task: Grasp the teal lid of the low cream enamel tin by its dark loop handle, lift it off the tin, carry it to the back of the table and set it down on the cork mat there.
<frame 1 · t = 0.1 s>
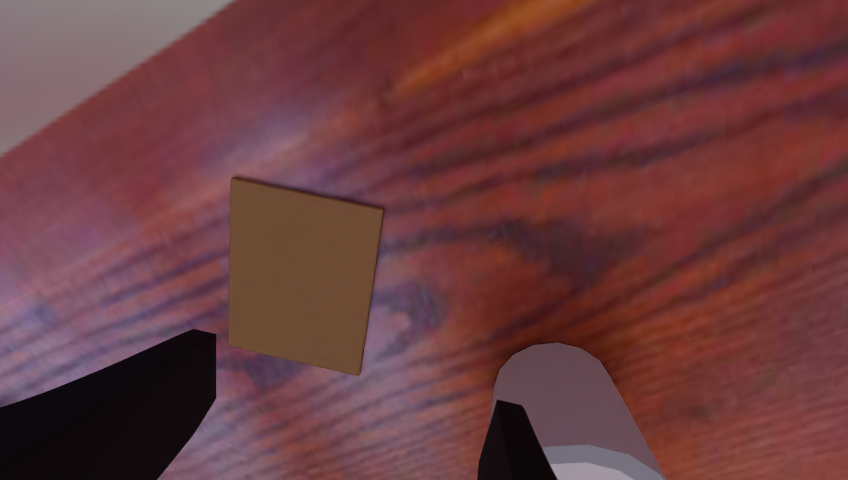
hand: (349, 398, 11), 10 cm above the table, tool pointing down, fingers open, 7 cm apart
mat: (301, 281, 22), on the table
pale grey cylinder: (551, 389, 23), on the table
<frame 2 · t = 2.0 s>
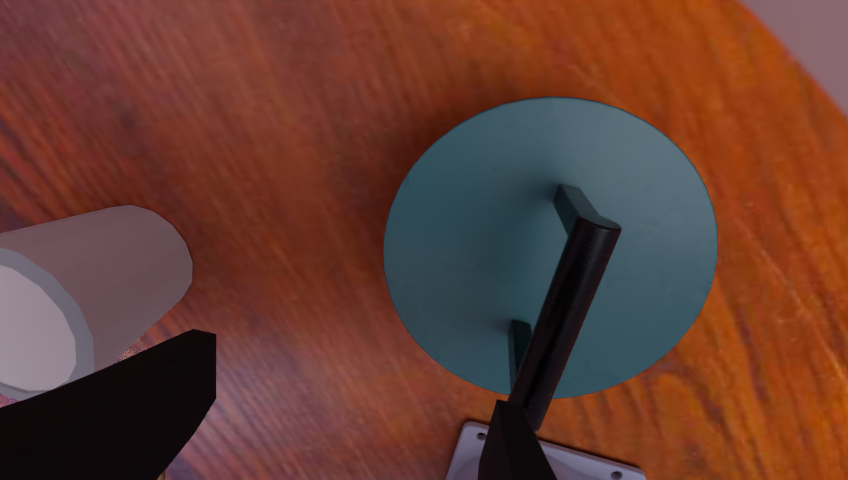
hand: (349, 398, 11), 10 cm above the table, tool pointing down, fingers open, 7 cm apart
pale grey cylinder: (143, 256, 24), on the table
tin lid: (539, 260, 16), point 4 cm above the table, touching tin
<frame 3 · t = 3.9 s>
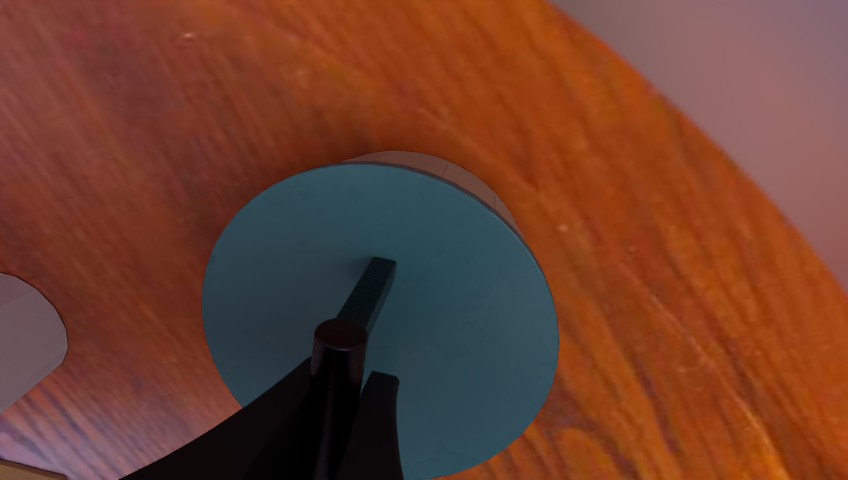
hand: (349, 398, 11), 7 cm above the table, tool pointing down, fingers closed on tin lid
tin: (402, 274, 18), on the table
pale grey cylinder: (17, 322, 22), on the table
tin lid: (375, 334, 14), point 4 cm above the table, touching gripper
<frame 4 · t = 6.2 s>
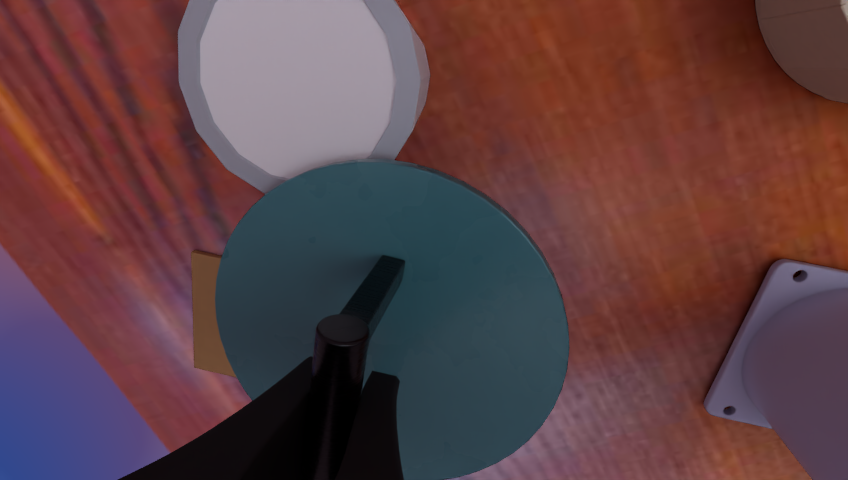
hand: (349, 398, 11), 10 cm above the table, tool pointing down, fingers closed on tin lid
mat: (277, 328, 24), on the table
pale grey cylinder: (363, 76, 19), on the table
tin lid: (384, 333, 14), point 8 cm above the table, touching gripper
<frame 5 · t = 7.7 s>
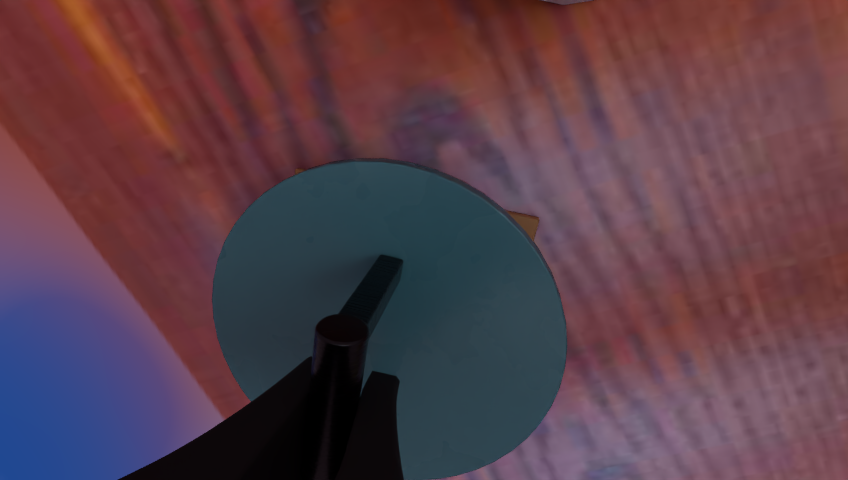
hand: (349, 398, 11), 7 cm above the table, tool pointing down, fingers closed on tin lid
mat: (401, 276, 18), on the table
tin lid: (382, 333, 14), point 4 cm above the table, touching gripper
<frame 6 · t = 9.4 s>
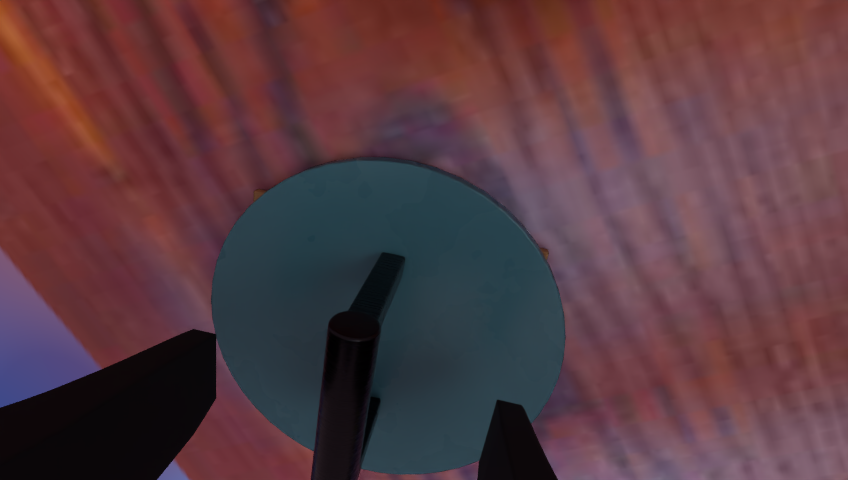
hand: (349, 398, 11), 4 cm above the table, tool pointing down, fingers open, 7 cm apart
tin lid: (383, 329, 14), point 1 cm above the table, touching mat
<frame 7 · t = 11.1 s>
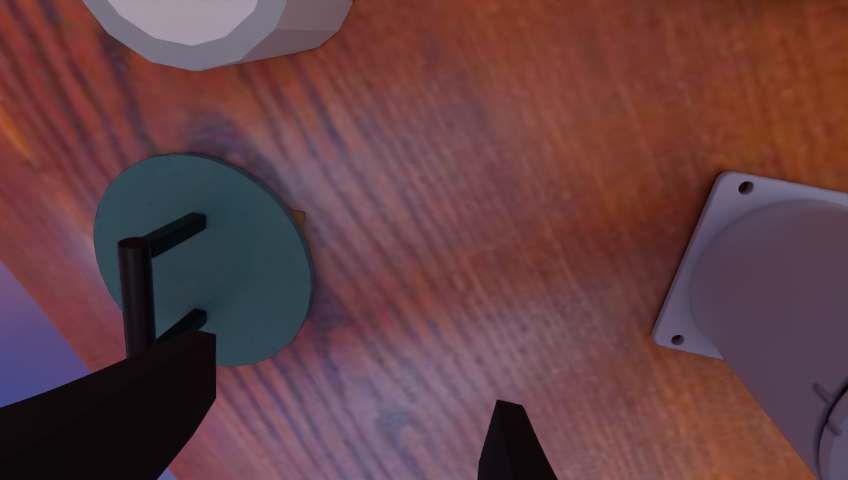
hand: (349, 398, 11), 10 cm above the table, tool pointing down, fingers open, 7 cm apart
tin lid: (206, 265, 22), point 1 cm above the table, touching mat
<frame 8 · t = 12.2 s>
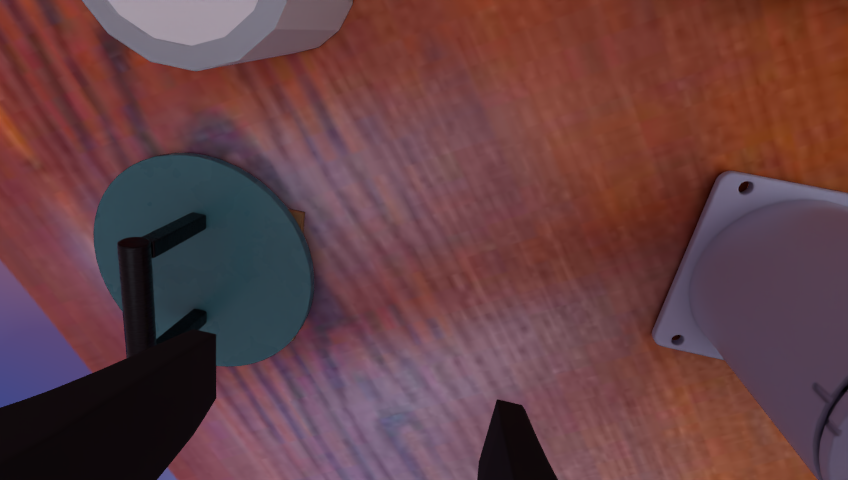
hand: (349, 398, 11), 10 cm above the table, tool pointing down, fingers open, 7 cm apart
tin lid: (206, 265, 22), point 1 cm above the table, touching mat
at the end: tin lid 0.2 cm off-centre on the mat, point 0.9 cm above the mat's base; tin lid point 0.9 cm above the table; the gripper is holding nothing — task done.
